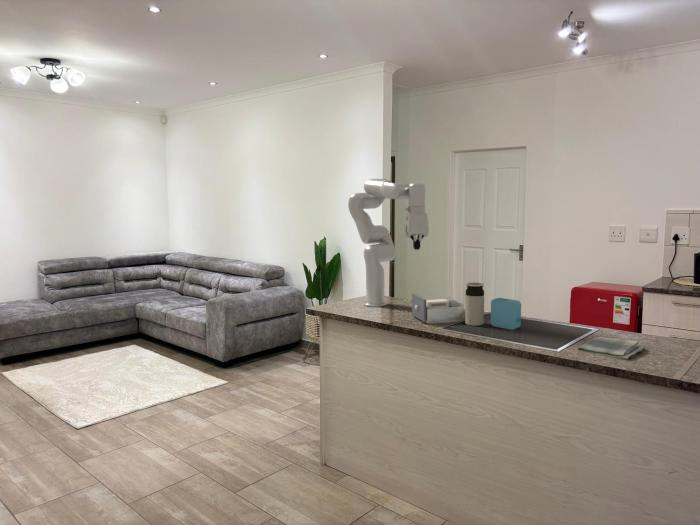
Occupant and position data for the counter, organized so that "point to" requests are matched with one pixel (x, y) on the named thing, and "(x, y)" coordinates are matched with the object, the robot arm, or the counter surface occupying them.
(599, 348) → the dish towel
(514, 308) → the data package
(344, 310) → the counter surface
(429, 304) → the cartridge
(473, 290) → the travel mug
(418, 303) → the grey drawer
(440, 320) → the grey storage bin
